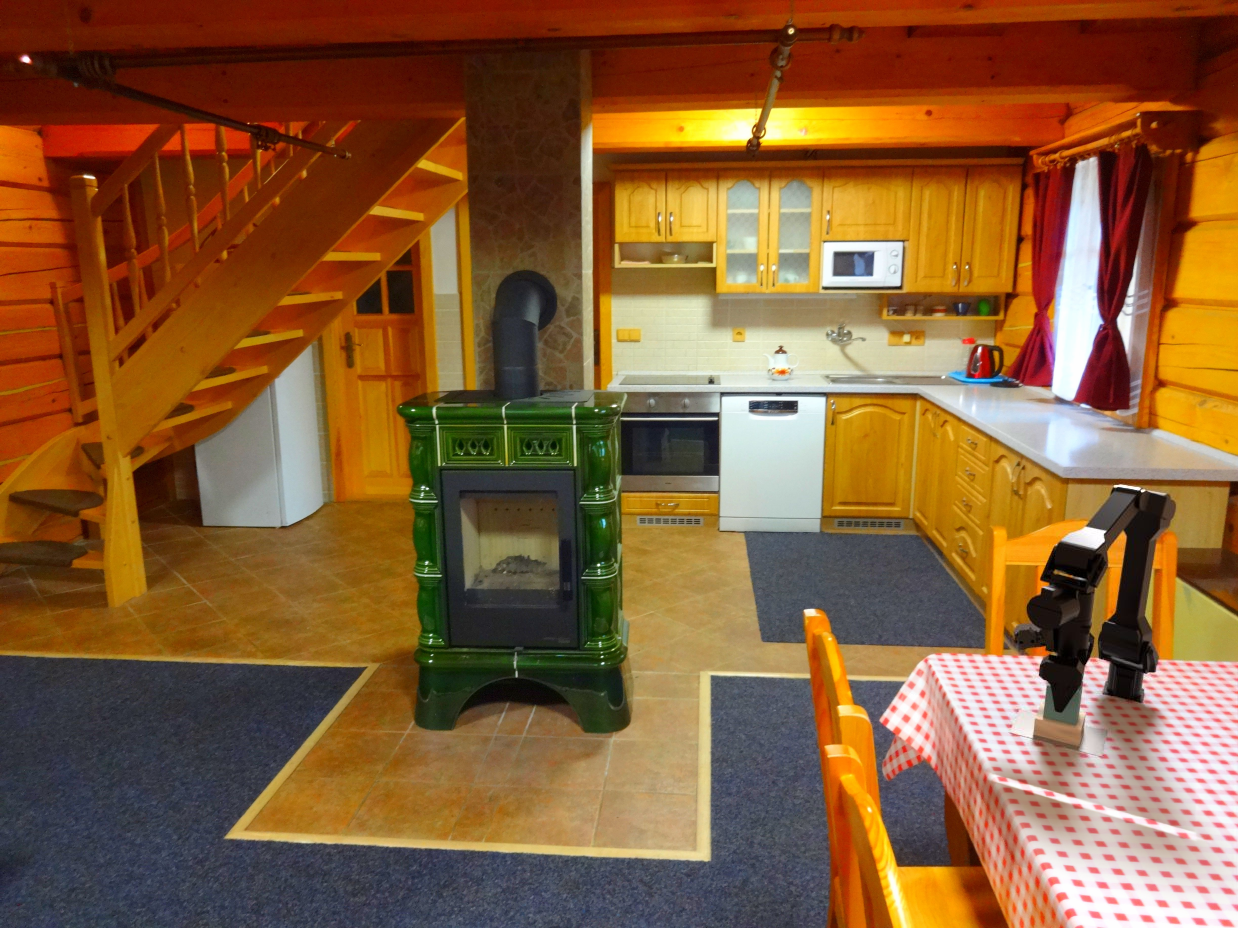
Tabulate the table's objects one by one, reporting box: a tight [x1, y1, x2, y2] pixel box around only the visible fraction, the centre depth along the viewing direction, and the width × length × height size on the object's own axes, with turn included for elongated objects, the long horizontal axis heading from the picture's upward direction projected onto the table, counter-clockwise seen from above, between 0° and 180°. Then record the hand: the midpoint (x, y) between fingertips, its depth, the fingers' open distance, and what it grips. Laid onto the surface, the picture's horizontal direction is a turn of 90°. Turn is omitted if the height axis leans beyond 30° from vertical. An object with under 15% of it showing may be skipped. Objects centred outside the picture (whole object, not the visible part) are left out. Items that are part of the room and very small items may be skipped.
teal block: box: [1043, 681, 1084, 726], centre depth 149 cm, size 5×5×6 cm
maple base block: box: [1033, 701, 1087, 746], centre depth 150 cm, size 7×7×3 cm
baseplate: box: [1009, 708, 1109, 758], centre depth 150 cm, size 10×14×1 cm
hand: (1062, 700), depth 149 cm, fingers open, 9 cm apart
